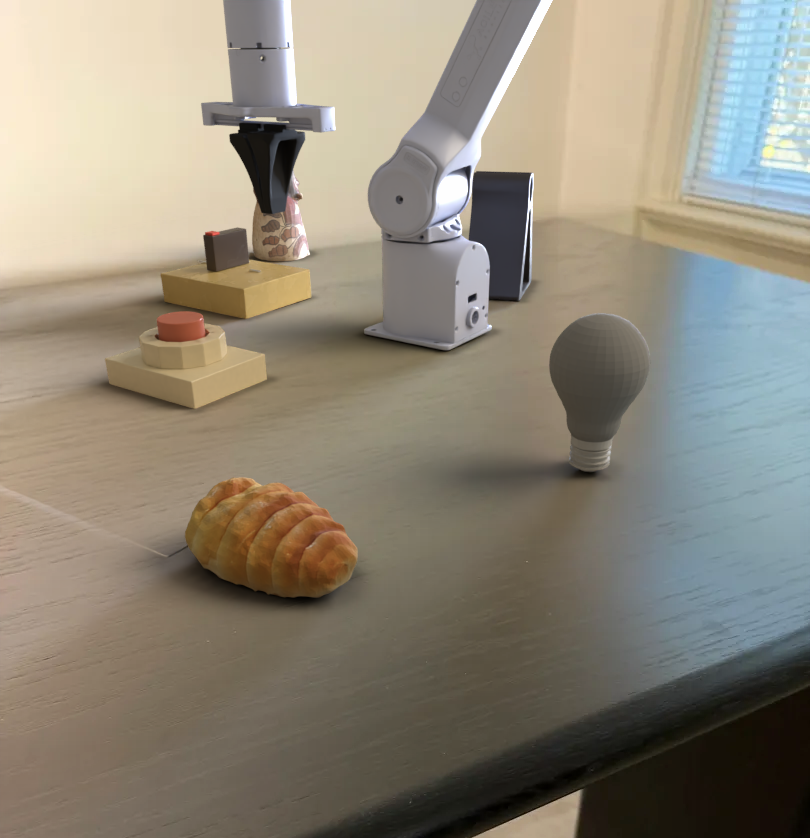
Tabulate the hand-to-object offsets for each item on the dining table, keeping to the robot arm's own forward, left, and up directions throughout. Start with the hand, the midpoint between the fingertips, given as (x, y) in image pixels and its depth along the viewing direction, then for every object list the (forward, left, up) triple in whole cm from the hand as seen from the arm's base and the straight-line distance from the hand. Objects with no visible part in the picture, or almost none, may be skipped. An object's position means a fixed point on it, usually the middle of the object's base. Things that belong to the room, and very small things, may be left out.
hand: (273, 212), depth 84 cm
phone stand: (-13, -21, -10) cm, 27 cm away
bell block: (-7, +19, -10) cm, 23 cm away
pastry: (-32, +36, -10) cm, 49 cm away
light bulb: (-41, +16, -10) cm, 45 cm away
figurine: (+19, -21, -10) cm, 30 cm away
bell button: (-7, +19, -6) cm, 21 cm away
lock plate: (+8, -2, -10) cm, 13 cm away
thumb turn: (+10, -3, -7) cm, 12 cm away
